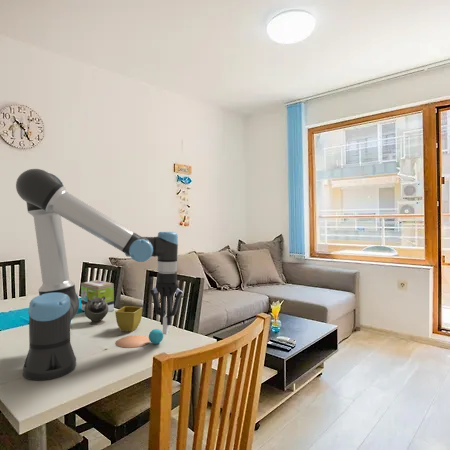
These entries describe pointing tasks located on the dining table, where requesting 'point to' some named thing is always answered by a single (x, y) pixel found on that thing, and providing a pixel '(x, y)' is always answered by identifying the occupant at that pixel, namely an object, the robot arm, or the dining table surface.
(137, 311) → the flower pot
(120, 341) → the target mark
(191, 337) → the dining table surface
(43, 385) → the dining table surface
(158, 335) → the ball
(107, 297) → the tea box
